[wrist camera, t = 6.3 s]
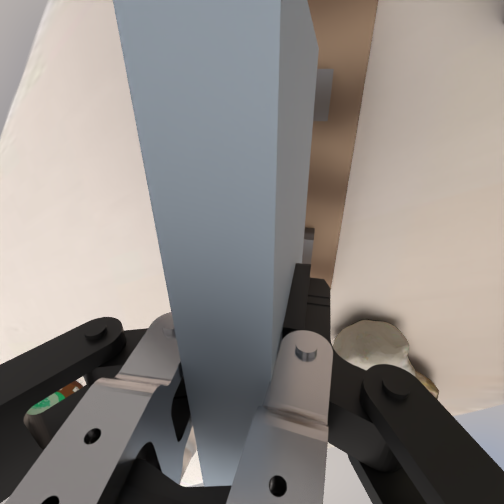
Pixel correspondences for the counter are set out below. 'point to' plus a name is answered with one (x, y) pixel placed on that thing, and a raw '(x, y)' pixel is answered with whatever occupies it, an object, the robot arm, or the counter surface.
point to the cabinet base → (334, 122)
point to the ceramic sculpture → (377, 348)
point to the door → (224, 189)
